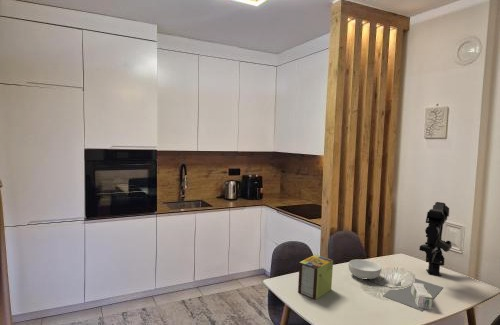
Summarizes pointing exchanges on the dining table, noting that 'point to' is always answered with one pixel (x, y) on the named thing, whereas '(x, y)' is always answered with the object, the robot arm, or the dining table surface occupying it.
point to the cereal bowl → (364, 269)
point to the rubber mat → (406, 296)
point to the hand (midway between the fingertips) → (430, 262)
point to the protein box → (315, 276)
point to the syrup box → (421, 295)
